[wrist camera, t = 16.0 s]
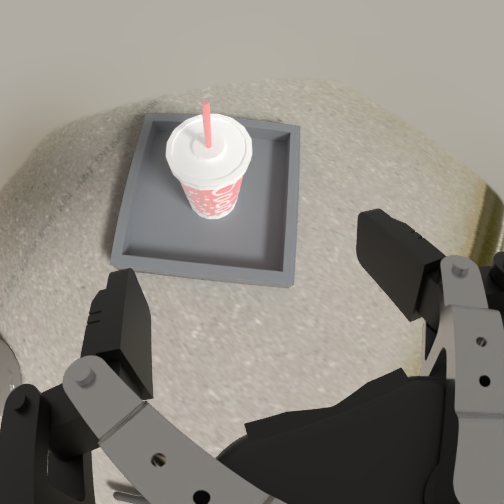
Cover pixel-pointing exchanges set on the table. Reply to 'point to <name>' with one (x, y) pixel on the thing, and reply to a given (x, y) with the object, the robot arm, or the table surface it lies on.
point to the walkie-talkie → (130, 498)
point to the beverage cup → (210, 161)
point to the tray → (212, 230)
